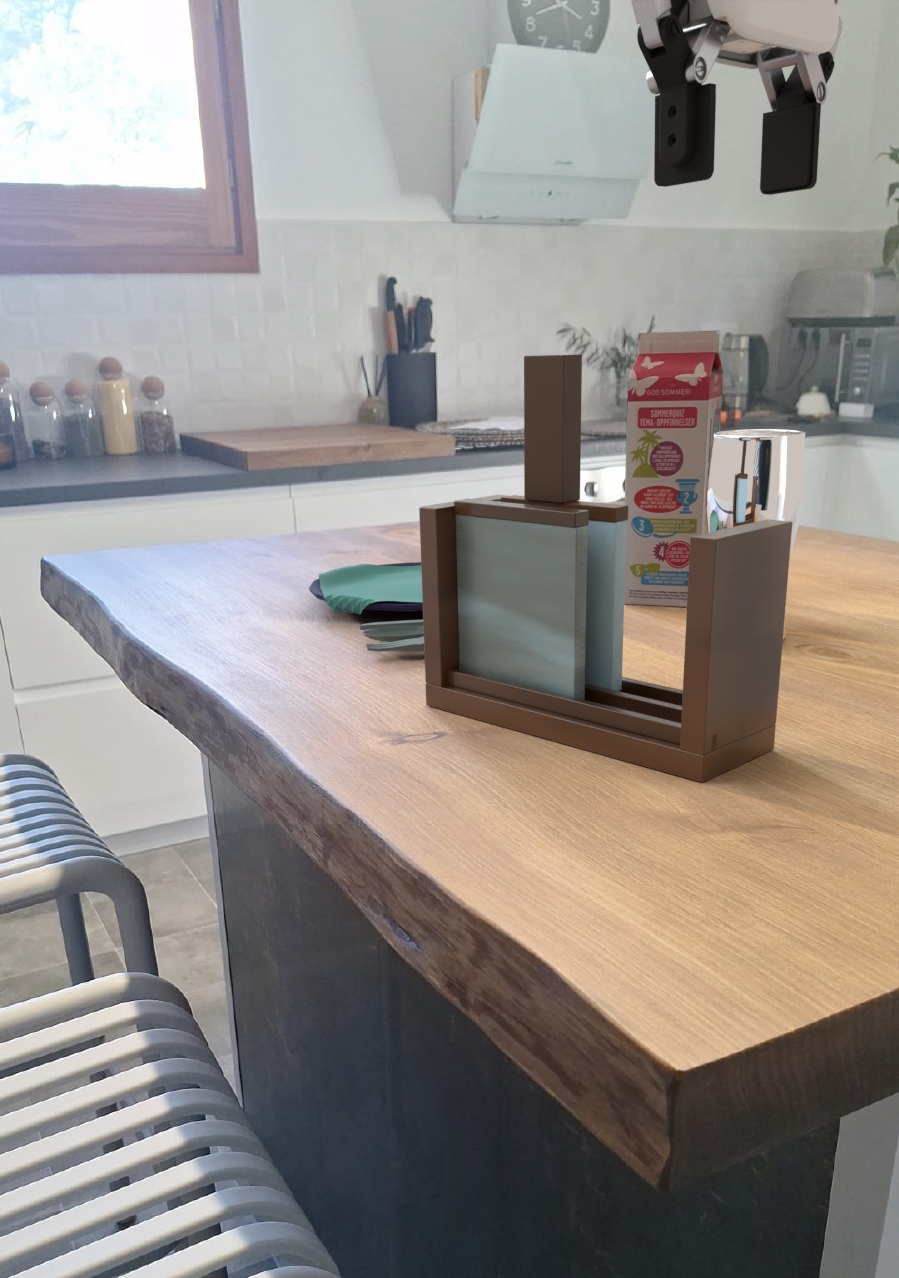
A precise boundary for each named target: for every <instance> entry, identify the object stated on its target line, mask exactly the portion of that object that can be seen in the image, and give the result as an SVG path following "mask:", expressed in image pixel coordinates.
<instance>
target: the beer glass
mask: <svg viewBox="0 0 899 1278" xmlns="http://www.w3.org/2000/svg"><path fill="white" fill-rule="evenodd" d="M806 434H807V433H806V431H802V430H797V429H773V428H772V429H769V428H768V429H767V428H766V429H764V428H763V429H759V428H758V429H757V428H756V429H755V428H754V429H734V430H733V429H731V430H720V432H715V433H713V434H712V444H711V451H710V458H709V466H708V474H707V486H706V524H707V533H708V532H713V531H717V530H722V529H726V528H731V527H735V526H740V525H744V524H749V523H753V522H758V521H762V520H767V519H769V520H780V521H791V522H792V533H791V546H790V558H789V562H790V561H791V558H792V554H793V550H794V546H795V542H796V537H797V533H798V529H799V525H800V520H801V515H802V511H803V504H804V503H803V502H804V493H805V477H806ZM786 631H787V630H786V620H785V619H784V631H783V640H784V639H785V638H786V634H787V632H786Z"/></svg>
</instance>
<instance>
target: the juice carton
mask: <svg viewBox="0 0 899 1278" xmlns="http://www.w3.org/2000/svg"><path fill="white" fill-rule="evenodd" d="M718 332H719V333H718ZM720 335H721V331H720V330H718V331H717V330H698V331H697V330H695V331H668V332H667V331H666V332H665V331H664V332H638V334H637V350H636V352H637V355H636V357H635V360H634V363H633V365H632V367H631V370H630V372H629V376H628V379H627V399H626V401H627V402H626V434H625V435H626V439H625V441H626V442H625V475H624V477H625V478H624V505H628V520H626V522H627V523H626V557H625V591H624V605H636V606H654V607H655V606H656V607H673V608H674V607H676V608H687V597H688V577H689V557H690V537H691V536H694V535H699V534H704V533H707V524H706V486H707V474H708V466H709V458H710V451H711V444H712V434H713V433H715V432H720V431H721V423H722V422H721V421H722V406H723V405H722V403H723V386H724V385H723V384H724V369H723V365H722V364H723V363H722V361H721V356H720V353H719V351H720Z"/></svg>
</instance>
